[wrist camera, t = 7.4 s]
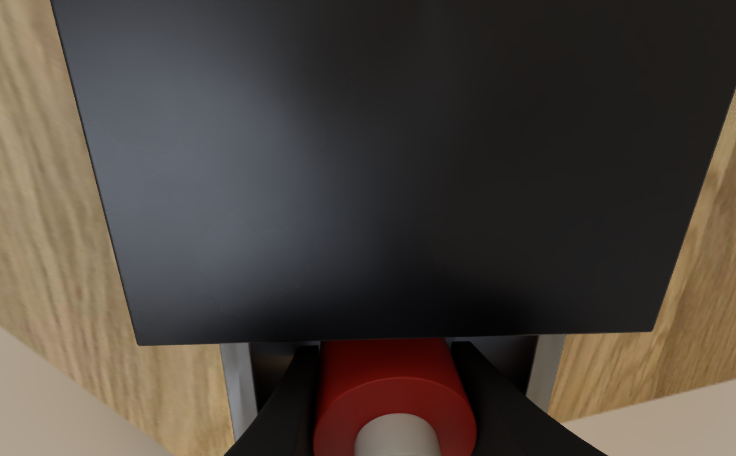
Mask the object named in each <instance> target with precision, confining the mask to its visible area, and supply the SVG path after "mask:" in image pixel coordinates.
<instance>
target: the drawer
mask: <svg viewBox="0 0 736 456" xmlns="http://www.w3.org/2000/svg"><path fill="white" fill-rule="evenodd" d="M565 337H566V334H560V335H524V336H487V337H450V338H445V339H446V341H447V344H448V347H449V349H450V351H451V344H452V341H470V342H471V343H472V344H473V345H474V346H475V347H476V348H477V349H478V350H479V351H480V352H481V353H482V354H483V355H484V356H485V357H486V358H487V359H488V360H489V361H490V362H491V363H492V364H493V365H494V366H495V367H496V368H497V369H498V370H499V371H500V372H501V373H502V374H503V375H504V376H505V377H506V378H507V379H508V380H509V381H510V382H511V383H512V384H513V385H514V386H515V387H516V388H517V389H518V390H519V391H521V392H522V393H523V394H524V395H525V396H526V397H527V398H529V399H530V400H531V401H532V402H533V403H534V404H536V405H537V406H538V407H539V408H540V409H542V410H543V411H544V412H545V413H547V411H548V407H549V402H550V398H551V394H552V390H553V386H554V382H555V378H556V374H557V370H558V365H559V361H560V357H561V353H562V349H563V345H564V341H565ZM305 345H319V351H320V341H302V342H265V343H228V344H220V351H221V357H222V363H223V370H224V376H225V382H226V389H227V395H228V401H229V408H230V414H231V420H232V427H233V433H234V439H235V443H236V441H237V440H238V439H239V438H240V437H241V435H242V434H243V433H244V432H245V431H246V429H247V428H248V427H249V426H250V424H251V423H252V422H253V420H254V419H255V418H256V416H257V415H258V414H259V412H260V411H261V409H262V408H263V406H264V405H265V404H266V402H267V401H268V399H269V398H270V396H271V395H272V393H273V392H274V390H275V389H276V387H277V385H278V384H279V382H280V380H281V379H282V377H283V375H284V374H285V372H286V370H287V368H288V366H289V364H290V362H291V360H292V358H293V356H294V354H295V352H296V349H297V348H298V347H299V346H305Z"/></svg>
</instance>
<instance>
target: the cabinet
mask: <svg viewBox="0 0 736 456" xmlns="http://www.w3.org/2000/svg"><path fill="white" fill-rule="evenodd" d="M50 2H51V6H52V10H53V14H54V18H55V22H56V26H57V30H58V34H59V38H60V42H61V46H62V50H63V54H64V58H65V62H66V65H67V69H68V73H69V77H70V81H71V85H72V89H73V93H74V97H75V101H76V105H77V109H78V113H79V117H80V121H81V125H82V129H83V133H84V136H85V140H86V144H87V148H88V152H89V156H90V160H91V164H92V168H93V172H94V176H95V180H96V184H97V188H98V192H99V196H100V200H101V203H102V207H103V211H104V215H105V219H106V223H107V227H108V231H109V235H110V239H111V243H112V247H113V251H114V255H115V259H116V263H117V267H118V271H119V274H120V278H121V282H122V286H123V290H124V294H125V298H126V302H127V306H128V310H129V314H130V318H131V322H132V326H133V330H134V334H135V338H136V341H137V344H138V345H139V346H155V345H192V344H228V343H265V342H302V341H339V340H376V339H413V338H450V337H487V336H524V335H560V334H597V333H634V332H652V331H653V329H654V326H655V323H656V320H657V317H658V314H659V311H660V308H661V306H662V303H663V300H664V297H665V294H666V291H667V288H668V285H669V282H670V279H671V276H672V273H673V270H674V268H675V265H676V262H677V259H678V256H679V253H680V250H681V247H682V244H683V241H684V238H685V235H686V233H687V230H688V227H689V224H690V221H691V218H692V215H693V212H694V209H695V206H696V203H697V200H698V197H699V195H700V192H701V189H702V186H703V183H704V180H705V177H706V174H707V171H708V168H709V165H710V162H711V159H712V157H713V154H714V151H715V148H716V145H717V142H718V139H719V136H720V133H721V130H722V127H723V124H724V121H725V119H726V116H727V113H728V110H729V107H730V104H731V101H732V98H733V95H734V92H735V89H736V0H50Z"/></svg>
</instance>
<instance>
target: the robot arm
mask: <svg viewBox="0 0 736 456" xmlns="http://www.w3.org/2000/svg"><path fill="white" fill-rule="evenodd" d="M451 355H452V357H453V360H454V363H455V365H456V368H457V371H458V373H459V376H460V378H461V381H462V384H463V386H464V389H465V392H466V394H467V397H468V400H469V402H470V405H471V408H472V410H473V413H474V416H475V419H476V423H477V439H476V443H475V447H474V449H473V452H472V454H471V456H608V455H606V454H604V453H603V452H601V451H599V450H598V449H596V448H595V447H593V446H592V445H590V444H589V443H587V442H586V441H584V440H582V439H581V438H579V437H578V436H577V435H575V434H574V433H572V432H571V431H569V430H568V429H566V428H565V427H564V426H562V425H561V424H560V423H558V422H557V421H556V420H554V419H553V418H552V417H550V416H549V415H548V414H547V413H545V412H544V411H543V410H542V409H540V408H539V407H538V406H537V405H536V404H534V403H533V402H532V401H531V400H530V399H529V398H527V397H526V396H525V395H524V394H523V393H522V392H521V391H519V390H518V389H517V388H516V387H515V386H514V385H513V384H512V383H511V382H510V381H509V380H508V379H507V378H506V377H505V376H504V375H503V374H502V373H501V372H500V371H499V370H498V369H497V368H496V367H495V366H494V365H493V364H492V363H491V362H490V361H489V360H488V359H487V358H486V357H485V356H484V355H483V354H482V353H481V352H480V351H479V350H478V349H477V348H476V347H475V346H474V345H473V344H472V343H471V342H470V341H452V344H451ZM318 368H319V345H305V346H299V347H298V348H297V349H296V352H295V354H294V356H293V358H292V360H291V362H290V364H289V366H288V368H287V370H286V372H285V374H284V375H283V377H282V379H281V380H280V382H279V384H278V385H277V387H276V389H275V390H274V392H273V393H272V395H271V396H270V398H269V399H268V401H267V402H266V404H265V405H264V406H263V408H262V409H261V411H260V412H259V414H258V415H257V416H256V418H255V419H254V420H253V422H252V423H251V424H250V426H249V427H248V428H247V429H246V431H245V432H244V433H243V434H242V435H241V437H240V438H239V439H238V440H237V441H236V443H235V444H234V445H233V446H232V447H231V448H230V449H229V450H228V451H227V452H226V454H225V455H224V456H314V453H313V447H312V435H313V423H314V411H315V399H316V389H317V380H318Z"/></svg>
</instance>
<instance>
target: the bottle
mask: <svg viewBox="0 0 736 456" xmlns="http://www.w3.org/2000/svg"><path fill="white" fill-rule="evenodd" d="M476 439H477V423H476V419H475V416H474V413H473V410H472V408H471V405H470V402H469V400H468V397H467V394H466V392H465V389H464V386H463V384H462V381H461V378H460V376H459V373H458V371H457V368H456V365H455V363H454V360H453V357H452V355H451V352H450V349H449V347H448V344H447V341H446V339H445V338H413V339H376V340H339V341H320V351H319V368H318V380H317V389H316V399H315V411H314V423H313V435H312V447H313V453H314V456H471V454H472V452H473V449H474V447H475V443H476Z"/></svg>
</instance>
